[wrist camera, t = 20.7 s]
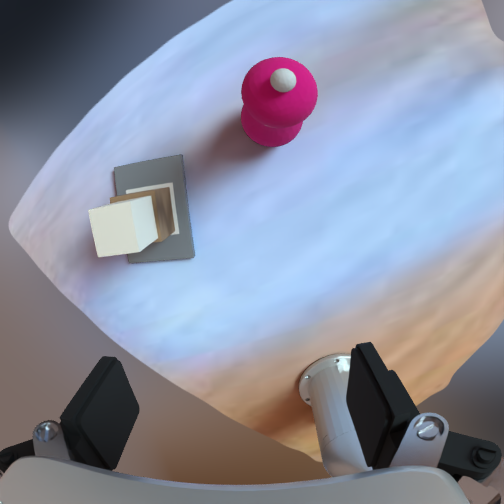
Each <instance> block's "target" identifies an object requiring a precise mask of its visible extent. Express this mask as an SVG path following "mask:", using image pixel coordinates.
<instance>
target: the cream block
mask: <svg viewBox="0 0 504 504" xmlns="http://www.w3.org/2000/svg"><path fill="white" fill-rule="evenodd" d="M88 211H89V217H90V222H91V227H92V232H93V237H94V242H95V246H96V251H97V255H98V257H105V256H113V255H121V254H128V253H136V252H140V251H142V250H143V249H144V248H145V247H147V246H148V245H149V244H151V243H152V242H154V241H155V240H156V239H158V234H157V228H156V223H155V217H154V211H153V205H152V198H151V196H145V197H140V198H135V199H130V200H125V201H120V202H115V203H111V204H107V205H104V206H100V207H97V208H94V209H90V210H88Z"/></svg>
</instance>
